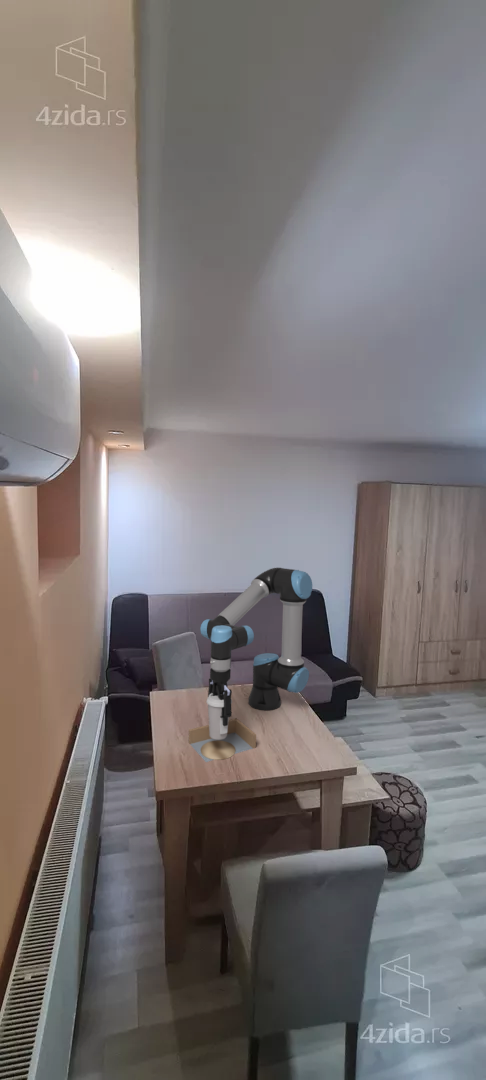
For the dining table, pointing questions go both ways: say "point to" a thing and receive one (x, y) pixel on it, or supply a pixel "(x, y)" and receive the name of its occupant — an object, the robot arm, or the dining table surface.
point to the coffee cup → (215, 716)
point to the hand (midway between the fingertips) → (218, 728)
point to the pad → (218, 750)
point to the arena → (236, 736)
